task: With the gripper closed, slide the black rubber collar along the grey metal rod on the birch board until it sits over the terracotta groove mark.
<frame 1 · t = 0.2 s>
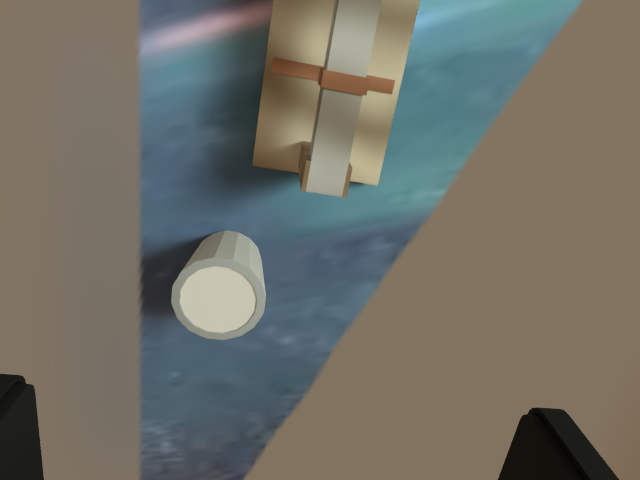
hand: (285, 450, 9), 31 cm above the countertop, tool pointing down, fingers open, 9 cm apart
cream short cylinder: (228, 260, 41), on the countertop
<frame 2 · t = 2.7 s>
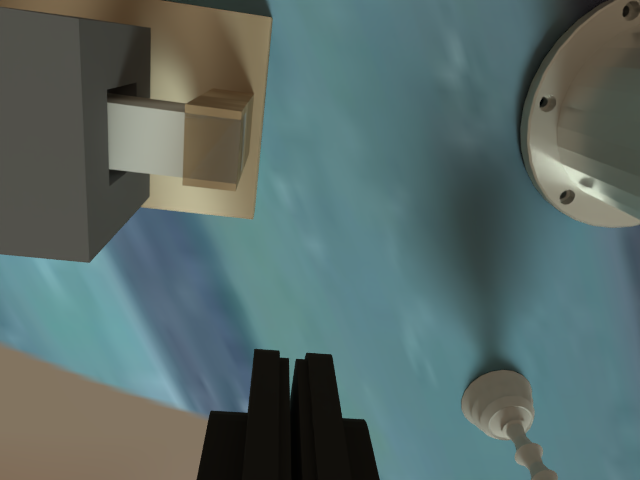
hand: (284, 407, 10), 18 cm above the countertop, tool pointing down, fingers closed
chalice: (495, 397, 34), on the countertop
pipe rig: (3, 87, 24), on the countertop
collar: (82, 126, 18), point 7 cm above the countertop, slide at 0.0 cm
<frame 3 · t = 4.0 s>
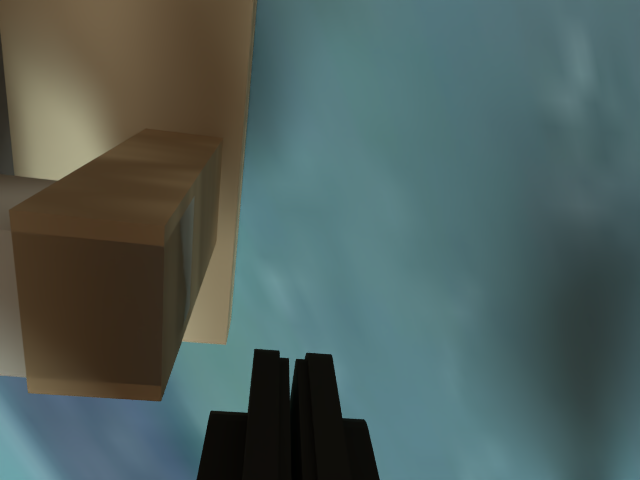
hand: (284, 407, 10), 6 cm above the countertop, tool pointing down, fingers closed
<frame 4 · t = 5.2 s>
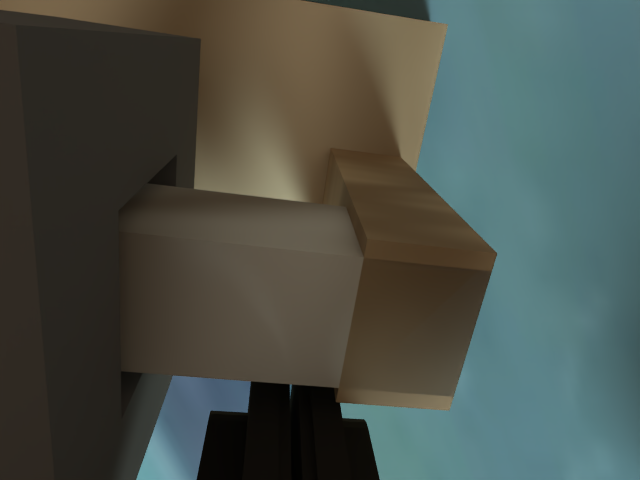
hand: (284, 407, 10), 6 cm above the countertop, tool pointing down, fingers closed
collar: (61, 262, 8), point 7 cm above the countertop, slide at 0.9 cm, touching gripper
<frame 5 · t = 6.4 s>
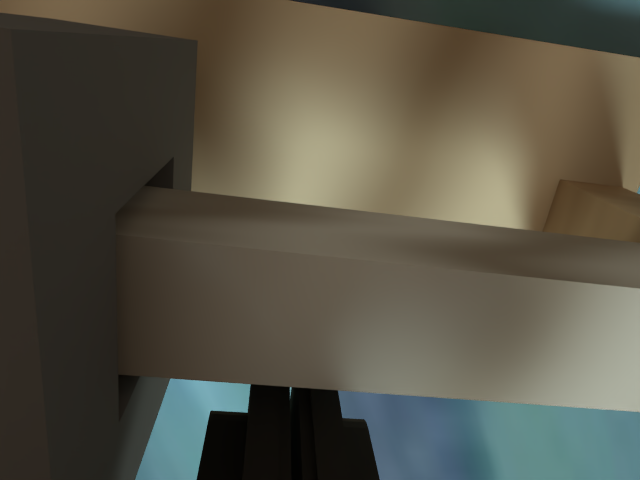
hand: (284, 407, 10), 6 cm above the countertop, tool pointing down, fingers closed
pipe rig: (200, 172, 15), on the countertop
collar: (58, 265, 8), point 7 cm above the countertop, slide at 7.7 cm, touching gripper
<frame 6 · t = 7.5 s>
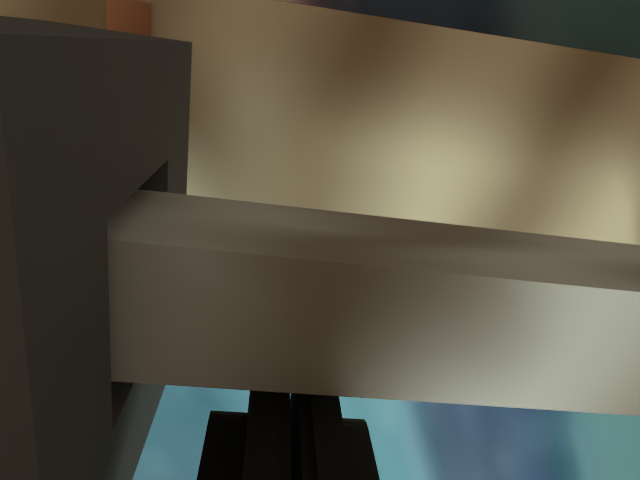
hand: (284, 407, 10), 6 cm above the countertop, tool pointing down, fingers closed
pipe rig: (324, 189, 15), on the countertop
collar: (51, 270, 8), point 7 cm above the countertop, slide at 11.7 cm, touching gripper
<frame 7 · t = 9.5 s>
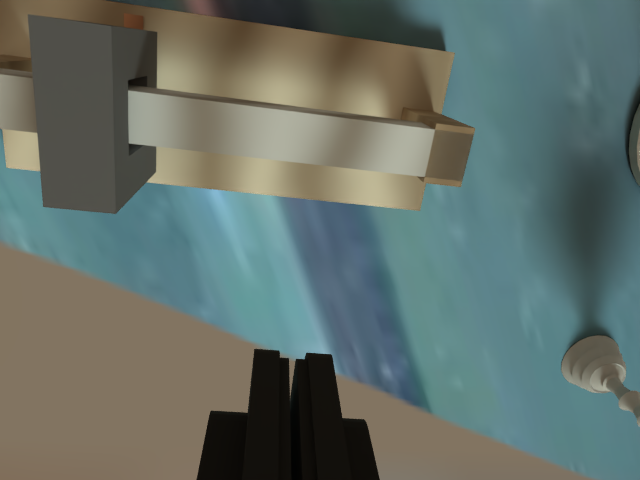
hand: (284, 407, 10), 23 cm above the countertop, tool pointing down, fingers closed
chalice: (589, 359, 40), on the countertop
pipe rig: (231, 107, 30), on the countertop
collar: (106, 110, 23), point 7 cm above the countertop, slide at 11.9 cm
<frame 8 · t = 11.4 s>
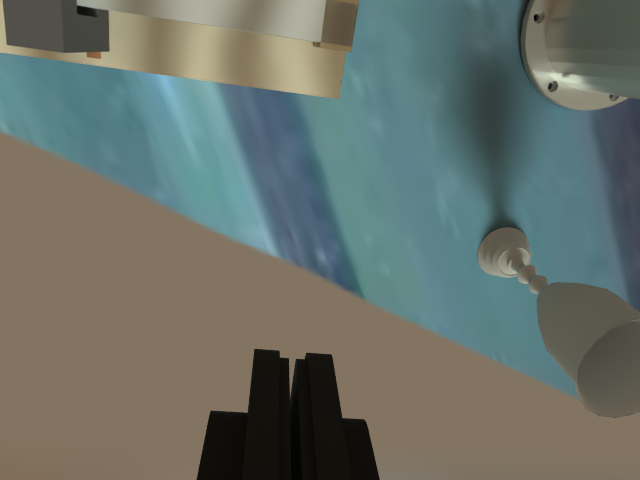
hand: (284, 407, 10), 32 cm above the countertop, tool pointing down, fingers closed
chalice: (502, 251, 46), on the countertop
pipe rig: (176, 4, 36), on the countertop
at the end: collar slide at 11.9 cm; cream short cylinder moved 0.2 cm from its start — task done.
